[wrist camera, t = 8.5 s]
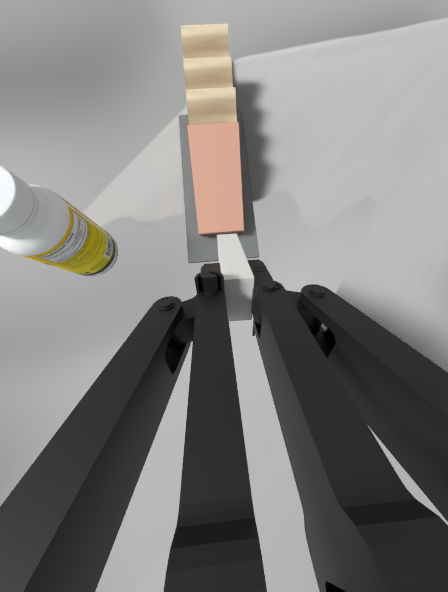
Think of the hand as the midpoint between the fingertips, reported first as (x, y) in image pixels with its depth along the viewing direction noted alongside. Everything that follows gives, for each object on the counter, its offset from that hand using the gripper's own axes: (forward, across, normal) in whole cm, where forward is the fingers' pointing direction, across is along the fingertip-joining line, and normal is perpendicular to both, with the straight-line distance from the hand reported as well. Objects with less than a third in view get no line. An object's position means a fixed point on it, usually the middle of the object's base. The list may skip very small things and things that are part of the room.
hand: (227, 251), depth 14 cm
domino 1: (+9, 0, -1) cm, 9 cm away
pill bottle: (+9, -16, -3) cm, 19 cm away
